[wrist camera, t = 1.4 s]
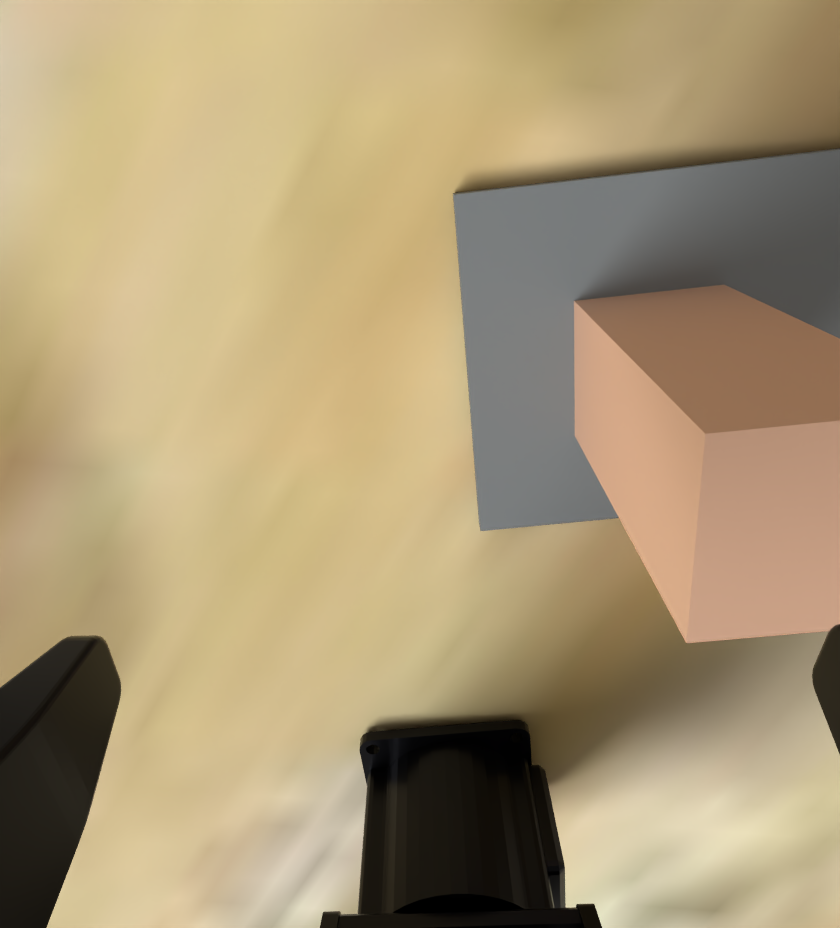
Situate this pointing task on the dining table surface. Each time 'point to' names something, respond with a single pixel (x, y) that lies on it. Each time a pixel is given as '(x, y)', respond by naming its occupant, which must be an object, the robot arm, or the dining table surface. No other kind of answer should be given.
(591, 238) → the slate mat
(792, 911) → the dining table surface
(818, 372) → the terracotta block
